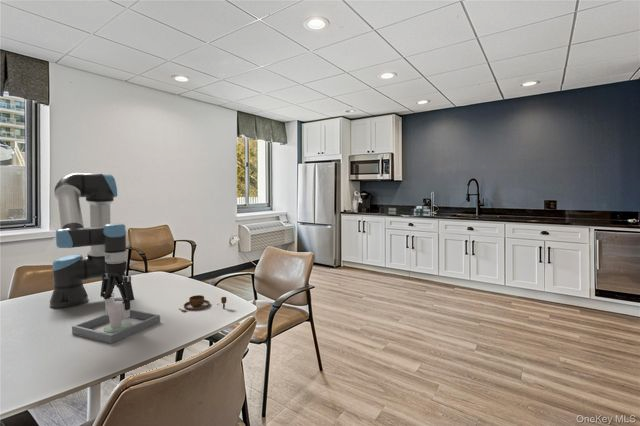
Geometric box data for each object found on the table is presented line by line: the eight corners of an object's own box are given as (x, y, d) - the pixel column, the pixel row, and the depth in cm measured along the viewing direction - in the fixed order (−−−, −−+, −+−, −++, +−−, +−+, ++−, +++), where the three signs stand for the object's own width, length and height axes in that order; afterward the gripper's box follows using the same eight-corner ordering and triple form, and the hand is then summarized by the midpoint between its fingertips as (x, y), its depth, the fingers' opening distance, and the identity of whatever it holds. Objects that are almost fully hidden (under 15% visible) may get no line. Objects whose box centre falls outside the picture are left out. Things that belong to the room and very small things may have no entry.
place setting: (207, 299, 171) (207, 288, 171) (229, 309, 158) (229, 297, 158) (174, 308, 158) (173, 296, 158) (194, 319, 145) (194, 306, 145)
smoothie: (112, 323, 138) (110, 290, 137) (127, 322, 139) (126, 290, 138) (103, 329, 132) (101, 295, 131) (120, 329, 133) (118, 295, 132)
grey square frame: (72, 333, 129) (71, 326, 129) (123, 314, 149) (123, 307, 149) (111, 343, 121) (110, 335, 121) (160, 321, 141) (159, 314, 141)
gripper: (88, 261, 134) (90, 314, 135) (126, 266, 126) (128, 323, 127) (106, 257, 141) (108, 308, 142) (143, 262, 133) (145, 316, 134)
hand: (117, 315), depth 135 cm, fingers open, 9 cm apart
